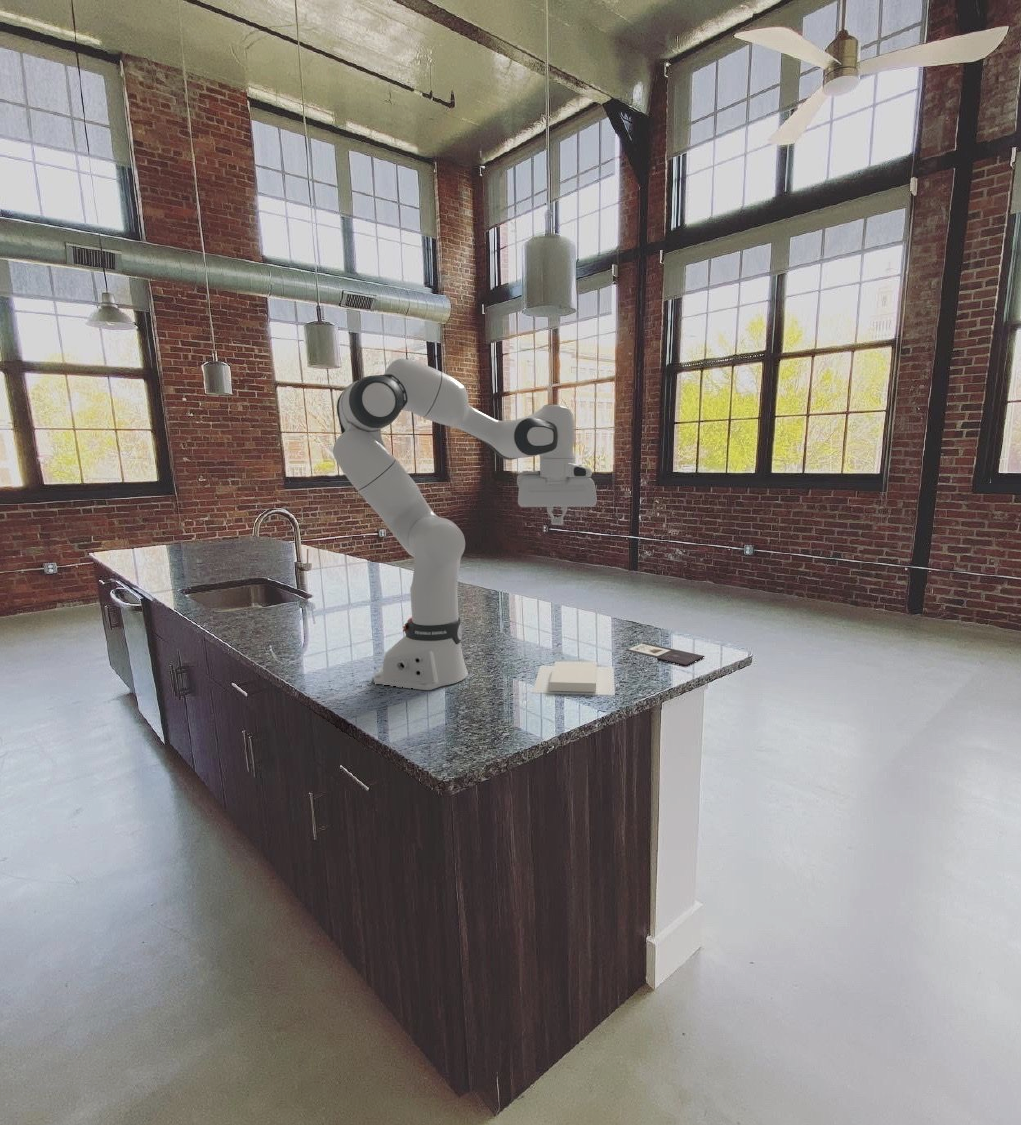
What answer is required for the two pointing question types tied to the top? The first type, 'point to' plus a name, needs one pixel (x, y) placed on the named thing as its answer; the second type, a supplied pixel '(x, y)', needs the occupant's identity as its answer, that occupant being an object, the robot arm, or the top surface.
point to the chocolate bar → (666, 654)
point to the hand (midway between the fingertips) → (557, 524)
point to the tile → (574, 677)
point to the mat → (602, 688)
